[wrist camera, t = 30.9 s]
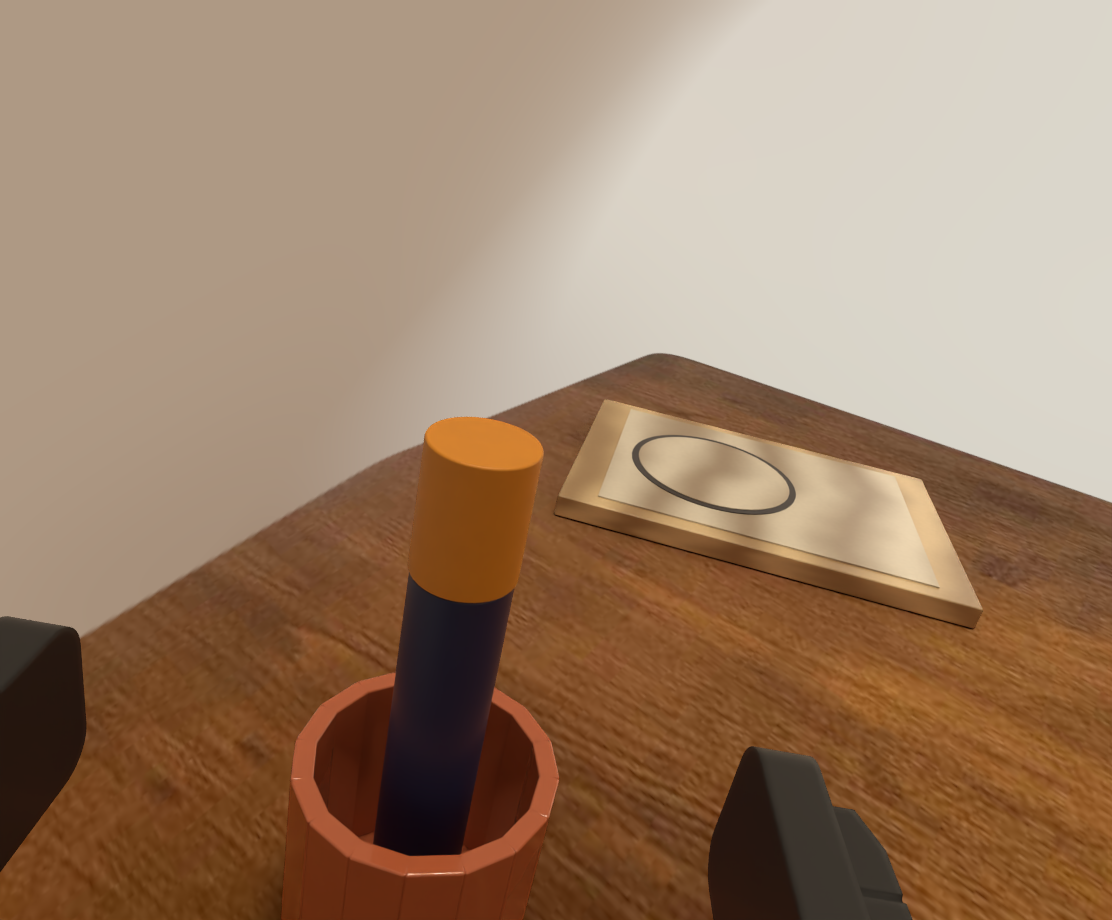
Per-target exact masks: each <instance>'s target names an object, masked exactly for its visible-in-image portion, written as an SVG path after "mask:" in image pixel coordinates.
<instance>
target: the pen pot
mask: <svg viewBox="0 0 1112 920" xmlns="http://www.w3.org/2000/svg"><path fill="white" fill-rule="evenodd" d="M395 674H396V672H394V673H390V674H386V675H382V676H378V677H374V678H370V679H366V680H362V681H359V682H357V683H355V684H353V685H351V686H350V687H348V688H347V689H345V690H343V691H342V692H340V693H339V694H337V695H335V696H334V697H332V698H331V699H329V700H328V701H326V702H324V703H323V704H322V705H321V706H319V708H318V709H317V711H316V712H315V713H314V715H313V716H312V718H311V719H310V721H309V722H308V723H307V725H306V726H305V728H304V729H303V730H302V732H301V733H300V735H299V736H298V737H297V740H296V741H295V748H294V755H293V763H292V770H291V778H290V791H289V806H288V820H287V835H286V849H285V864H284V879H283V893H282V908H281V920H523V919H524V915H525V911H526V908H527V904H528V900H529V896H530V892H531V888H532V885H533V881H534V877H535V873H536V869H537V865H538V861H539V858H540V854H541V850H542V846H543V842H544V838H545V834H546V831H547V827H548V823H549V819H550V815H551V811H552V808H553V804H554V800H555V796H556V792H557V788H558V784H559V774H558V770H557V766H556V761H555V757H554V752H553V748H552V744H551V741H550V739H549V738H548V736H547V735H546V734H545V732H544V731H543V730H542V728H541V727H540V726H539V724H538V723H537V722H536V720H535V719H534V718H533V716H532V715H531V714H530V713H529V711H528V710H527V709H525V707H524V706H522V705H521V704H519V703H518V702H516V701H515V700H513V699H512V698H510V697H509V696H507V695H505V694H504V693H502V692H501V691H499V690H498V689H496V688H495V687H494V691H493V696H492V701H491V706H490V711H489V716H488V721H487V726H486V731H485V736H484V741H483V746H482V751H481V756H480V761H479V766H478V771H477V776H476V781H475V786H474V791H473V796H472V801H471V806H470V811H469V816H468V821H467V826H466V831H465V836H464V841H463V846H462V851H461V854H459V855H428V856H408V855H405V854H402V853H399V852H396V851H393V850H390V849H386V848H383V847H380V846H377V845H374V844H373V839H374V832H375V824H376V817H377V809H378V802H379V794H380V787H381V779H382V772H383V764H384V757H385V749H386V742H387V734H388V727H389V719H390V712H391V704H392V697H393V689H394V682H395Z"/></svg>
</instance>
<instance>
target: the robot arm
mask: <svg viewBox="0 0 1112 920" xmlns="http://www.w3.org/2000/svg"><path fill="white" fill-rule="evenodd" d="M85 736H86V713H85V699H84V685H83V671H82V657H81V644H80V638H79V635H78V633H77V631H76V630H75V629H73V628H71V627H66V626H61V625H55V624H49V623H43V622H37V621H32V620H26V619H20V618H14V617H8V616H7V617H1V618H0V872H1V870H2V869H3V868H4V866H5V865H6V864H7V862H8V861H9V860H10V858H11V857H12V856H13V854H14V853H15V852H16V850H17V849H18V847H19V846H20V845H21V843H22V842H23V841H24V839H25V838H26V837H27V835H28V834H29V833H30V831H31V830H32V829H33V827H34V826H35V825H36V823H37V822H38V821H39V819H40V818H41V816H42V815H43V814H44V812H45V811H46V810H47V808H48V807H49V806H50V804H51V803H52V802H53V800H54V799H55V798H56V796H57V795H58V794H59V792H60V791H61V789H62V788H63V787H64V785H65V784H66V783H67V781H68V780H69V778H70V776H71V775H72V773H73V771H74V769H75V767H76V765H77V763H78V760H79V758H80V755H81V752H82V749H83V745H84V741H85ZM708 882H709V892H710V899H711V906H712V912H713V919H714V920H912V917H911V915H910V912H909V910H908V907H907V904H905V903H903V902H902V896H903V894H902V891H901V889H900V886H899V884H898V881H897V879H896V876H895V873H894V871H893V868H892V866H891V863H890V860H889V858H888V855H887V853H886V850H885V849H884V848H883V846H882V845H881V844H880V842H879V841H878V840H877V839H876V837H875V836H874V835H873V833H872V832H871V831H870V830H869V828H868V827H867V826H866V825H865V823H864V822H863V821H862V819H861V818H860V817H859V816H858V814H857V813H856V812H855V810H852V809H846V808H840V807H834V806H832V803H831V800H830V797H829V794H828V791H827V788H826V785H825V782H824V779H823V776H822V773H821V770H820V768H819V765H818V764H817V762H816V760H815V759H814V758H813V757H811V756H806V755H800V754H794V753H788V752H782V751H776V750H771V749H765V748H759V747H749V748H748V749H747V750H746V751H745V753H744V754H743V756H742V759H741V761H740V764H739V767H738V769H737V772H736V774H735V777H734V780H733V782H732V785H731V788H730V790H729V793H728V796H727V798H726V801H725V804H724V806H723V809H722V811H721V814H720V817H719V819H718V822H717V825H716V827H715V830H714V833H713V836H712V840H711V846H710V852H709V862H708Z"/></svg>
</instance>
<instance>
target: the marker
mask: <svg viewBox="0 0 1112 920" xmlns="http://www.w3.org/2000/svg"><path fill="white" fill-rule="evenodd" d="M543 454H544V452H543V448H542V445H541V444H540V442H539V441H538V440H537V439H536V438H535V437H534V436H532V435H531V434H530V433H528V432H526V431H525V430H523V429H521V428H518V427H516V426H514V425H511V424H508V423H505V422H501V421H497V420H492V419H487V418H479V417H455V418H449V419H444V420H441V421H438V422H436V423H434V424H432V425H431V426H430V427H429V428H428V429H427V431H426V433H425V437H424V444H423V452H422V460H421V467H420V475H419V482H418V490H417V497H416V505H415V513H414V520H413V528H412V535H411V543H410V551H409V558H408V570H409V577H408V584H407V592H406V599H405V607H404V614H403V622H402V629H401V637H400V644H399V652H398V659H397V667H396V674H395V682H394V689H393V697H392V704H391V712H390V719H389V727H388V734H387V742H386V749H385V757H384V764H383V772H382V779H381V787H380V794H379V802H378V809H377V817H376V824H375V832H374V839H373V844H374V845H377V846H380V847H383V848H386V849H390V850H393V851H396V852H399V853H402V854H405V855H408V856H428V855H459V854H461V851H462V846H463V841H464V836H465V831H466V826H467V821H468V816H469V811H470V806H471V801H472V796H473V791H474V786H475V781H476V776H477V771H478V766H479V761H480V756H481V751H482V746H483V741H484V736H485V731H486V726H487V721H488V716H489V711H490V706H491V701H492V696H493V691H494V686H495V681H496V676H497V671H498V667H499V662H500V657H501V652H502V647H503V642H504V637H505V632H506V627H507V622H508V617H509V612H510V607H511V602H512V597H513V592H514V587H515V586H516V584H517V582H518V579H519V574H520V569H521V564H522V559H523V554H524V549H525V544H526V539H527V534H528V529H529V525H530V520H531V515H532V510H533V505H534V500H535V495H536V490H537V485H538V480H539V475H540V470H541V465H542V460H543Z"/></svg>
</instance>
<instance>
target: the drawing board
mask: <svg viewBox="0 0 1112 920" xmlns="http://www.w3.org/2000/svg"><path fill="white" fill-rule="evenodd" d="M554 514H555V515H559V516H562V517H566V518H570V519H573V520H577V521H581V522H584V523H588V524H592V525H595V526H599V527H603V528H606V529H610V530H614V531H617V532H621V533H625V534H628V535H632V536H636V537H639V538H643V539H647V540H650V541H654V542H658V543H661V544H665V545H669V546H672V547H676V548H680V549H683V550H687V551H691V552H694V553H698V554H702V555H705V556H709V557H713V558H716V559H720V560H724V561H727V562H731V563H735V564H738V565H742V566H746V567H749V568H753V569H757V570H760V571H764V572H768V573H771V574H775V575H779V576H782V577H786V578H790V579H793V580H797V581H801V582H804V583H808V584H812V585H815V586H819V587H823V588H826V589H830V590H834V591H837V592H841V593H845V594H848V595H852V596H856V597H859V598H863V599H867V600H870V601H874V602H878V603H881V604H885V605H889V606H892V607H896V608H900V609H903V610H907V611H911V612H914V613H918V614H922V615H925V616H929V617H933V618H936V619H940V620H944V621H947V622H951V623H955V624H958V625H962V626H966V627H969V628H975V626H976V624H977V622H978V620H979V618H980V616H981V614H982V612H983V609H982V606H981V604H980V602H979V600H978V598H977V596H976V594H975V592H974V590H973V587H972V585H971V583H970V581H969V579H968V577H967V575H966V573H965V571H964V569H963V566H962V564H961V562H960V560H959V558H958V556H957V554H956V552H955V550H954V547H953V545H952V543H951V541H950V539H949V537H948V535H947V533H946V531H945V528H944V526H943V524H942V522H941V520H940V518H939V516H938V514H937V512H936V510H935V507H934V505H933V503H932V501H931V499H930V497H929V495H928V493H927V491H926V488H925V486H924V484H923V482H922V480H921V479H917V478H913V477H909V476H905V475H901V474H897V473H893V472H889V471H885V470H882V469H878V468H874V467H870V466H866V465H862V464H858V463H854V462H850V461H846V460H842V459H838V458H834V457H831V456H827V455H823V454H819V453H815V452H811V451H807V450H803V449H799V448H795V447H791V446H787V445H783V444H779V443H776V442H772V441H768V440H764V439H760V438H756V437H752V436H748V435H744V434H740V433H736V432H732V431H728V430H724V429H721V428H717V427H713V426H709V425H705V424H701V423H697V422H693V421H689V420H685V419H681V418H677V417H673V416H670V415H666V414H662V413H658V412H654V411H650V410H646V409H642V408H638V407H634V406H630V405H626V404H622V403H618V402H615V401H611V400H607V399H605V400H604V401H603V404H602V406H601V408H600V410H599V412H598V414H597V416H596V418H595V420H594V422H593V424H592V426H591V428H590V430H589V433H588V435H587V437H586V439H585V441H584V443H583V445H582V447H581V449H580V451H579V453H578V455H577V457H576V460H575V462H574V464H573V466H572V468H571V470H570V472H569V474H568V476H567V478H566V480H565V482H564V484H563V486H562V489H561V491H560V493H559V495H558V498H557V503H556V507H555V512H554Z"/></svg>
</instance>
